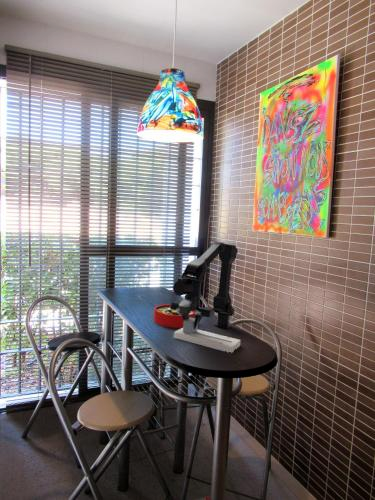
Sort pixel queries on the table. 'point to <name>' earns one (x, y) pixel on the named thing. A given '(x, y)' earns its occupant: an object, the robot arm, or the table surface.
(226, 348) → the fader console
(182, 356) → the table surface
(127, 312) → the table surface
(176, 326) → the red round tin
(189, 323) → the fader tab
